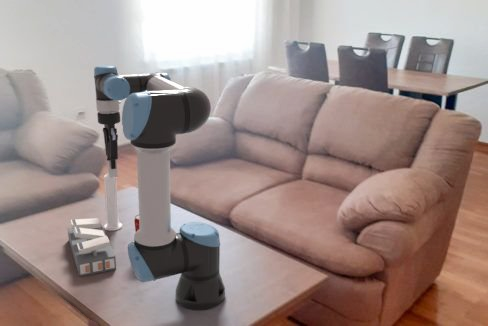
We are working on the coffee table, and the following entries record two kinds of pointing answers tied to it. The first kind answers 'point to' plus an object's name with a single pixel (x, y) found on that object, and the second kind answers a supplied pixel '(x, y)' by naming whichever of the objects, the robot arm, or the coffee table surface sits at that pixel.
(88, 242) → the rocker near
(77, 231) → the rocker mid
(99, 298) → the coffee table surface
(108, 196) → the candle
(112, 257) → the console
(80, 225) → the rocker far
